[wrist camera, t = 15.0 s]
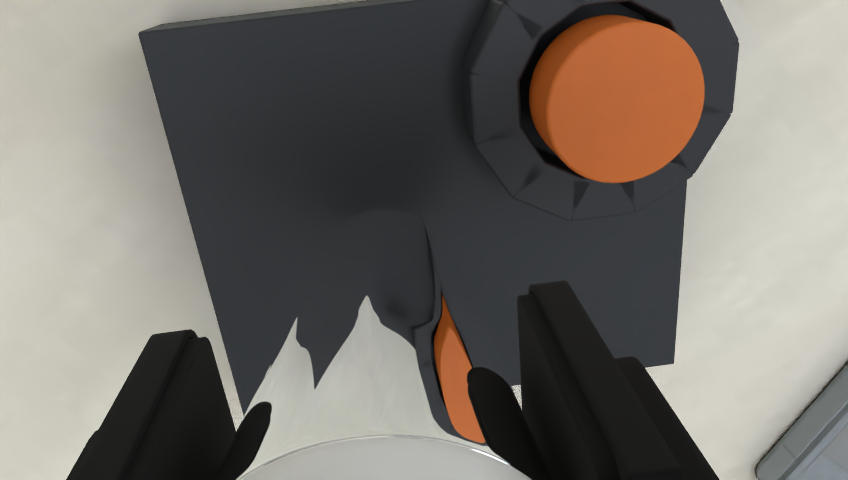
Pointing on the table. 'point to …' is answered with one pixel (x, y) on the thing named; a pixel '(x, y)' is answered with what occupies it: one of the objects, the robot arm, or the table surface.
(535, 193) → the dark grey flat block
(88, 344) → the table surface
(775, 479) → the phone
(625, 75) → the button
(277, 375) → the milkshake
